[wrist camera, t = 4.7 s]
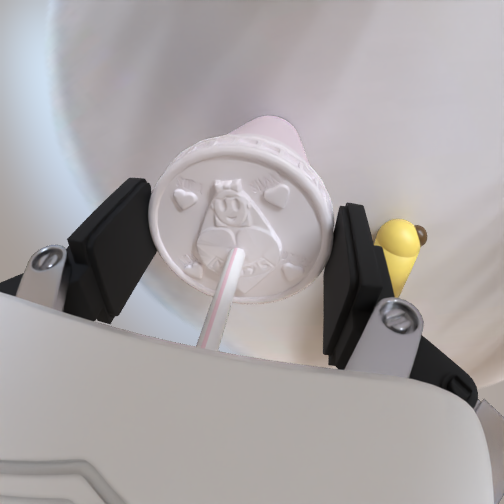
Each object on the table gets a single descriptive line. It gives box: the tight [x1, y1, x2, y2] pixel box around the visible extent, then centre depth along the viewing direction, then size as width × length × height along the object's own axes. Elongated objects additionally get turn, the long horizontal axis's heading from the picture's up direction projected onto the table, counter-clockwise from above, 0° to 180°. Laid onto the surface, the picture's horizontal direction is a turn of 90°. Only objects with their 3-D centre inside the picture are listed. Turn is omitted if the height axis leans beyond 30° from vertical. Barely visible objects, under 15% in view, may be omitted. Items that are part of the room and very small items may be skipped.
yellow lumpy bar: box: [374, 219, 427, 298], centre depth 22 cm, size 14×4×3 cm, turn 177°
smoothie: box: [148, 115, 334, 351], centre depth 12 cm, size 6×6×14 cm
